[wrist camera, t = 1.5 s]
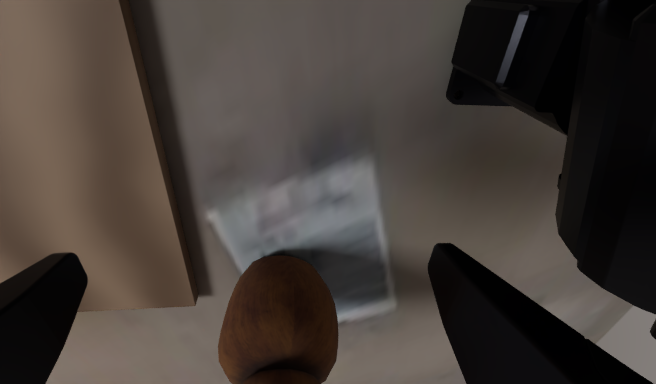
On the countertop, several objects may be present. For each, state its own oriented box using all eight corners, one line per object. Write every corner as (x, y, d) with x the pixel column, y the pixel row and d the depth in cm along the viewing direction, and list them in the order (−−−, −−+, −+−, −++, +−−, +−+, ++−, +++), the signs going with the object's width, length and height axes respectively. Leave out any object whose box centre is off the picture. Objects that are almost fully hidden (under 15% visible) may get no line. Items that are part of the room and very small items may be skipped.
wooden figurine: (226, 292, 23) (157, 647, 11) (242, 234, 20) (174, 625, 8) (313, 303, 25) (340, 618, 13) (338, 252, 22) (405, 591, 10)
